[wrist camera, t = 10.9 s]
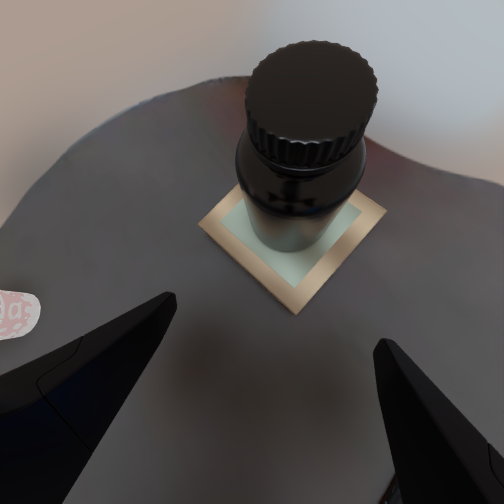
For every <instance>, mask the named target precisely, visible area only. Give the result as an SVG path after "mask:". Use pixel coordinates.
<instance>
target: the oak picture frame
mask: <svg viewBox="0 0 504 504" xmlns="http://www.w3.org/2000/svg"><path fill="white" fill-rule="evenodd" d="M386 212H387V210H385V209H384V208H382V207H381V206H380V205H378V204H377V203H375V202H374V201H372V200H371V199H369V198H368V197H366V196H365V195H363V194H362V193H360V192H359V191H357V190H356V189H355V191H354V193H353V194H352V195H351V197H350V198H349V200H348V201H347V202H346V204H345V205H344V206H343V208H342V209H341V211H340V212H339V213H338V215H337V216H336V218H335V219H334V220H333V222H332V223H331V224H330V226H329V227H328V229H327V230H326V231H325V233H324V234H323V235H322V236H321V238H320V239H319V240H318V241H317V242H316V243H314V244H313V245H312V246H310V247H308V248H306V249H304V250H301V251H296V252H282V251H278V250H275V249H272V248H270V247H268V246H267V245H265V244H264V243H263V242H262V241H261V240H260V239H259V238H258V237H257V236H256V234H255V232H254V230H253V228H252V226H251V223H250V220H249V216H248V213H247V209H246V206H245V202H244V199H243V195H242V192H241V188H240V185H239V183H238V184H237V185H236V186H235V187H234V188H233V189H232V190H231V191H230V192H229V193H228V194H227V195H226V196H225V197H224V198H223V199H222V200H221V201H220V202H219V203H218V204H217V205H216V206H215V207H214V208H213V209H212V210H211V211H210V212H209V213H208V214H207V215H206V216H205V217H204V218H203V219H202V220H201V221H200V222H199V223H198V225H199V226H200V227H201V228H202V229H203V230H204V231H205V232H206V233H207V234H208V235H209V236H210V237H211V238H212V239H213V240H214V241H215V242H216V243H217V244H218V245H220V246H221V247H222V248H223V249H224V250H225V251H226V252H227V253H228V254H229V255H230V256H231V257H232V258H234V259H235V260H236V261H237V262H238V263H239V264H240V265H241V266H242V267H243V268H244V269H245V270H247V271H248V272H249V273H250V274H251V275H252V276H253V277H254V278H255V279H256V280H257V281H258V282H259V283H261V284H262V285H263V286H264V287H265V288H266V289H267V290H268V291H269V292H270V293H271V294H272V295H274V296H275V297H276V298H277V299H278V300H279V301H280V302H281V303H282V304H283V305H284V306H285V307H286V308H288V309H289V310H290V311H291V312H292V313H293V314H295V315H297V314H298V313H299V312H300V310H301V309H302V308H303V307H304V306H305V305H306V303H307V302H308V301H309V300H310V299H311V298H312V297H313V295H314V294H315V293H316V292H317V291H318V290H319V289H320V287H321V286H322V285H323V284H324V283H325V282H326V280H327V279H328V278H329V277H330V276H331V275H332V274H333V272H334V271H335V270H336V269H337V268H338V267H339V266H340V264H341V263H342V262H343V261H344V260H345V259H346V258H347V256H348V255H349V254H350V253H351V252H352V251H353V249H354V248H355V247H356V246H357V245H358V244H359V243H360V241H361V240H362V239H363V238H364V237H365V236H366V235H367V233H368V232H369V231H370V230H371V229H372V228H373V226H374V225H375V224H376V223H377V222H378V221H379V220H380V218H381V217H382V216H383V215H384V214H385V213H386Z"/></svg>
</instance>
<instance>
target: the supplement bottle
mask: <svg viewBox="0 0 504 504" xmlns="http://www.w3.org/2000/svg"><path fill="white" fill-rule="evenodd" d="M373 73H374V72H373V68H371V67H370V66H369V65H368V61H367V60H366V59H364V58H362V57H361V56H360V54H359V53H357V52H355V51H352V50H351V49H350V48H349V47H345V46H341V45H340V44H338V43H330V42H328V41H316V40H312V41H308V42H304V41H301V42H298V43H296V44H289V45H287V46H286V47H283V48H279V49H278V50H276V52H274V53H271V54H269V55H268V56H267V57H266V59H264V60H262V61H260V63H259V65H258V66H257V67H256V68H255V69H254V70H253V74H252V76H251V77H250V78H249V79H248V86H247V87H246V91H245V94H246V98H245V108H246V115H247V127H246V128H245V130H244V131H243V133H242V135H241V137H240V140H239V142H238V145H237V149H236V156H235V166H236V173H237V177H238V181H239V185H240V188H241V192H242V195H243V199H244V202H245V206H246V209H247V213H248V216H249V220H250V223H251V226H252V228H253V230H254V232H255V234H256V236H257V237H258V238H259V239H260V240H261V241H262V242H263V243H264V244H265V245H267V246H268V247H270V248H272V249H275V250H278V251H282V252H296V251H301V250H304V249H306V248H308V247H310V246H312V245H313V244H314V243H316V242H317V241H318V240H319V239H320V238H321V236H322V235H323V234H324V233H325V231H326V230H327V229H328V227H329V226H330V224H331V223H332V222H333V220H334V219H335V218H336V216H337V215H338V213H339V212H340V211H341V209H342V208H343V206H344V205H345V204H346V202H347V201H348V200H349V198H350V197H351V195H352V194H353V193H354V191H355V189H356V188H357V186H358V184H359V182H360V181H361V178H362V176H363V173H364V170H365V164H366V147H365V142H364V139H363V135H364V132H365V128H366V126H367V124H368V122H369V120H370V118H371V116H372V113H373V110H374V108H375V106H376V103H377V94H378V90H379V89H378V87H377V85H376V83H377V78H376V77H375V75H374V74H373Z"/></svg>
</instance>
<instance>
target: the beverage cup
mask: <svg viewBox="0 0 504 504" xmlns="http://www.w3.org/2000/svg"><path fill="white" fill-rule="evenodd" d="M40 309H41V306H40V303H39V300H38V299H37V298H36V297H35V296H34V295H32V294H28V293H21V292H12V291H3V290H0V340H3V339H9V338H15V337H20V336H24V335H25V334H27V333H28V332H30V331H31V330H32V329H33V327H34V326H35V325H36V323H37V321H38V319H39V316H40Z"/></svg>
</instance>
